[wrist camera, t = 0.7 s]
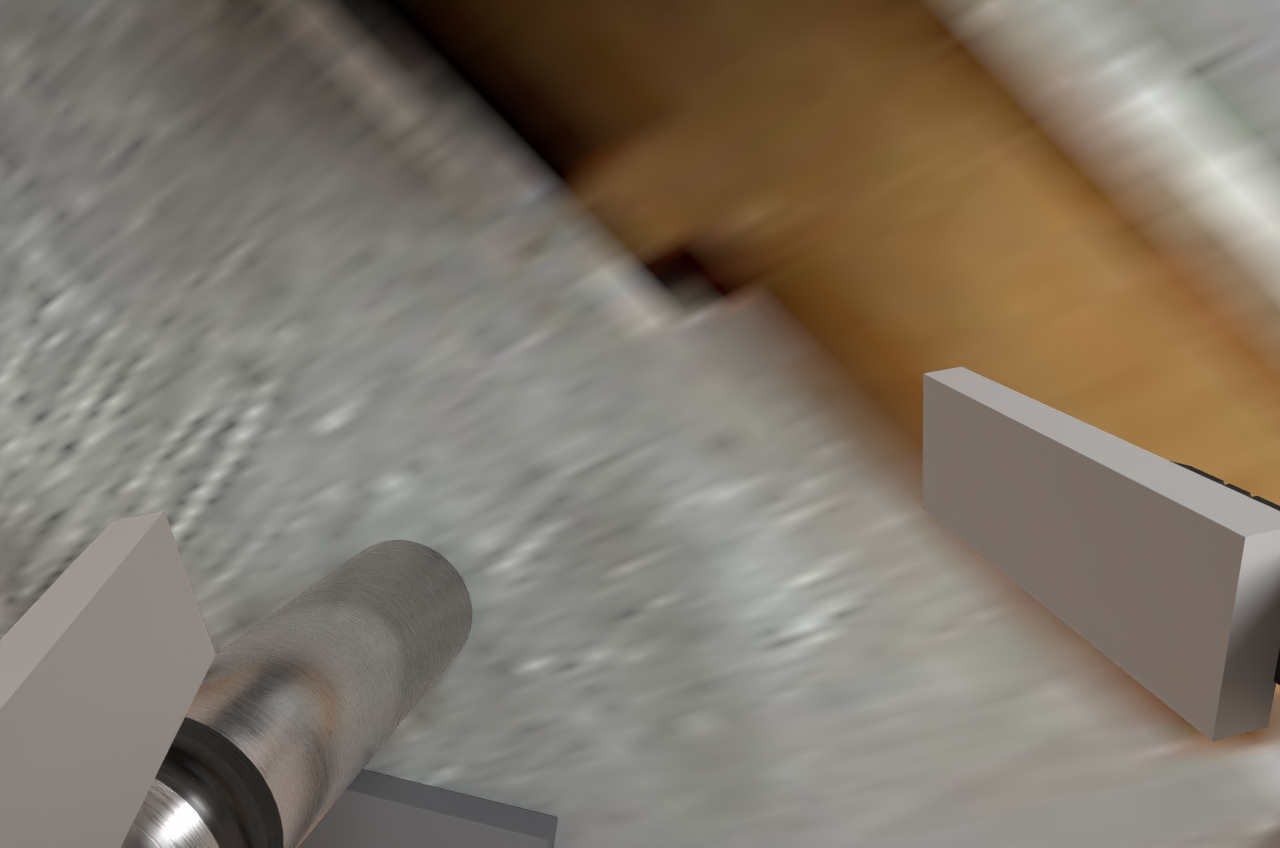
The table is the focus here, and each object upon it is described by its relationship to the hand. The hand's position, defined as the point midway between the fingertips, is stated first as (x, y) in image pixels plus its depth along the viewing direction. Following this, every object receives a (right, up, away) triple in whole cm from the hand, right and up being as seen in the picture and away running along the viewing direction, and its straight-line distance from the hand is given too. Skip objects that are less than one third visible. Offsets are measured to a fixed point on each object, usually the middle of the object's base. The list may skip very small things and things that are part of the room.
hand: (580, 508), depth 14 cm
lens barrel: (-7, -5, +15) cm, 17 cm away
